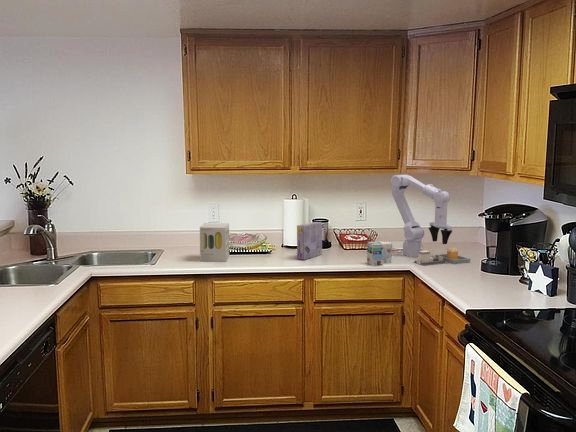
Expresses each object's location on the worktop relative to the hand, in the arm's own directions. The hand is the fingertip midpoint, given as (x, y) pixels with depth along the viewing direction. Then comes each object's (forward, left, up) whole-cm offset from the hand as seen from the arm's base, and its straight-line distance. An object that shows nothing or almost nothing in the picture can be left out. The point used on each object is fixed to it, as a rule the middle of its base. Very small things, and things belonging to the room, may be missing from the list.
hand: (439, 242), depth 278 cm
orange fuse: (+3, +6, -9) cm, 11 cm away
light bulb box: (-8, -30, -10) cm, 33 cm away
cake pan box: (-36, -54, -10) cm, 66 cm away
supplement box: (-50, -101, -10) cm, 113 cm away
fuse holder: (+3, -8, -10) cm, 13 cm away
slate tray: (+3, +6, -10) cm, 12 cm away
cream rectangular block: (+3, -12, -9) cm, 15 cm away
